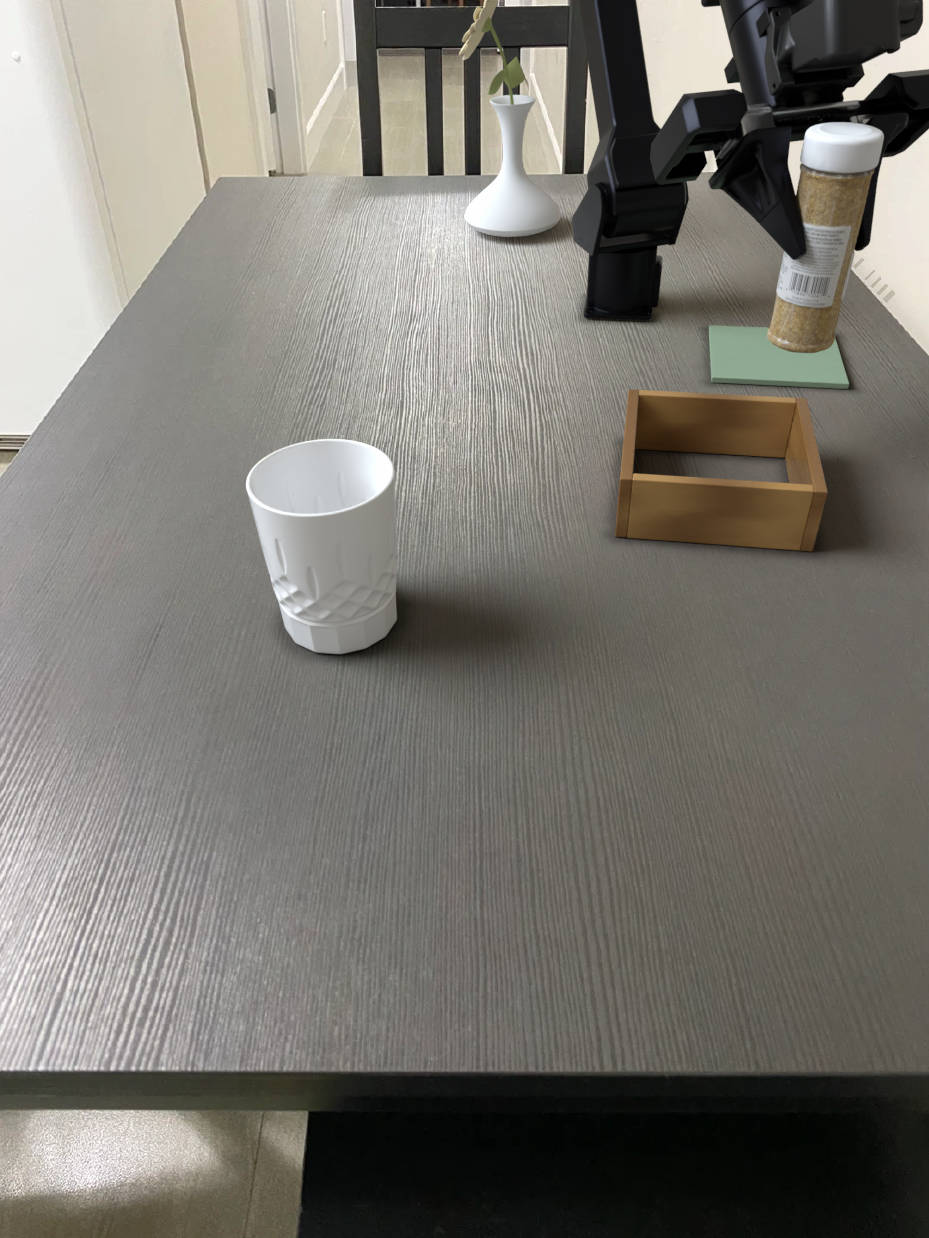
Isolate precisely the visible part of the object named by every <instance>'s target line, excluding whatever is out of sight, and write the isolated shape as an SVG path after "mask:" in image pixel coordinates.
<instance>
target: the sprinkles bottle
mask: <svg viewBox="0 0 929 1238" xmlns="http://www.w3.org/2000/svg"><path fill="white" fill-rule="evenodd" d="M883 140H884V134H883V132H882V131H881V130H879V129H877V128H875V127H872V126H869V125H864V124H859V123H849V122H829V123H822V124H817V125H814V126H812V127H810V128H809V129H808V130H807V131H806V133H805V137H804V140H803V142H802V147H801V152H800V156H799V161H800V164H799V170H800V173H799V178H798V183H797V188H796V192H795V196H796V200H797V203H798V207H799V211H800V215H801V219H802V223H803V228H804V234H805V242H806V253H805V255H804V256H802V257H801V258H800V259H798V260H793V259H791V257H790V256H789V255H788V254H787V253H786V252H785V251H784V250H783V255H782V259H781V265H780V270H779V275H778V280H777V285H776V294H775V295H776V296H775V301H774V306H773V311H772V316H771V320H770V326H769V327H768V328H769V329H768V332H767V338H768V339H769V341H770V342H771V343H772V344H773V345H775V346H777V347H778V348H781V349H783V350H786V351H790V352H797V353H816V352H820V351H824V350H827V349H828V348H830V347H831V346H832V345H833V343H834V340H835V339H836V334H835V333H836V328H837V324H838V322H839V321H838V320H839V316H840V312H841V308H842V303H843V299H844V298H845V296H846V292H847V288H848V284H849V279H850V275H851V272H852V266H853V264H854V263H853V262H854V258H855V254H856V253H855V250H854V249H855V244H856V242H857V237H858V233H859V229H860V225H861V220H862V216H863V212H864V208H865V203H866V198H867V195H868V190H869V184H870V180H871V176H872V174H873V173H874V168H875V167H876V166H877V165H878V163H879V159H880V154H881V150H882V145H883Z"/></svg>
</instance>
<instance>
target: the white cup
mask: <svg viewBox="0 0 929 1238" xmlns="http://www.w3.org/2000/svg"><path fill="white" fill-rule="evenodd" d="M395 474H396V473H395V465H394V463H393V461H392V459H391V458H390V457H389V456H388V455H387V454H386V453H385V452H384V451H383V450H381V449H380V448H377V447H376V446H373V445H371V444H368V443H365V442H361V441H358V440H352V439H344V438H320V439H312V440H306V441H301V442H297V443H292V444H290V445H287V446H284V447H282V448H278V449H276V450H274V451H273V452H271V453H269V454H267V455H265V456H264V457H263V458H262V459H260V460H259V461H258V462H257V463H255V465H253V467H252V468H251V469H250V471H249V472H248V475H247V476H246V480H245V481H246V482H245V489H246V493H247V497H248V500H249V504H250V507H251V512H252V515H253V519H254V524H255V526H256V531H257V534H258V539H259V543H260V546H261V550H262V554H263V558H264V562H265V565H266V568H267V571H268V573H269V577H270V581H271V585H272V588H273V592H274V595H275V598H276V599H277V601H278V605H279V609H280V613H281V617H282V621H283V625H284V629H285V630H286V631H287V633H288V634H289V636H290V637H291V639H292V640H293V641H294V643H295V644H296V645H298V646H301V647H303V648H305V649H307V650H310V651H312V652H314V653H317V654H331V655H344V654H348V653H353V652H357V651H361V650H365V649H368V648H369V647H371V646H372V645H374V644H376V643H378V642H379V641H380V640H383V639H384V638H386V637H387V636H388V634H389V632H390V631H391V629H392V628H393V626H394V625H395V624H396V622H397V620H398V613H397V593H396V592H397V581H398V578H399V575H398V558H399V557H398V556H399V555H398V535H397V505H396V504H397V503H396V501H397V500H396V476H395Z"/></svg>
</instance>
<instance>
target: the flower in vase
mask: <svg viewBox="0 0 929 1238" xmlns="http://www.w3.org/2000/svg"><path fill="white" fill-rule="evenodd" d="M498 2H499V0H484V2H483V6H482V7H481V6H478V5H477V6H476V8H475V10H474V12H473V15H472V16H473V21H474V22H473V23H471V25H470V27H469V29H468V30H467V31H466V32H465V33H464V34H463V37H462V39H461V42H462V43H464V44H463V45H462V47H461V49H460V51H459V53H458V56H459V57H460V56H462V55H463V57H462V61H466V60H467V59H469V58H470V57H471V56H472V54H473V53H474V52H475V50H476V48H477V47H478V45H479V44H480V42H482V41H481V40H482V39H483V37H484V36H485V34H486V33H488V32H489V31H490V32H491V35H492V37H493V39H494V41H495V44H496V46H497V49H498V51H499V54H500V57H501V59H502V64H503V69H501V70H500V71H498V73H497V74H496V75H495V76H494V77H493V79H492V80H491V83H490V85H489V88H488V91H487V95H489V96H493V95H495V94H497V93H498V91H499V90H500V88H501V86H502V84H503V82H504V83H505V85H506V86H507V88H508V93H509V94H506V95H505V94H504V95H498V96H494V97H492V98H490V99H489V103H490V105H491V107H492V108H493V109H494V111H495V113H496V115H497V117H498V118H497V119H498V121H499V126H500V131H501V132H500V133H501V140H502V141H501V142H502V163H501V167H500V171H499V173H498V175H497V176H496V177H495V179H494V180H493V181H492V182H491V183H489V185H488V186H486V187H485V188H484V189H483V190H482V191H481V192H480V193H479V194H478V195H476V196H475V197H474V199H472V201H471V202H470V203H469V204H468V206H467V207H466V209H465V212H464V215H463V218H464V219H463V220H464V221H465V222H466V224H467V225H468V226H469V227H470V228H471V229H472V230H474V231H477V232H479V233H482V234H484V235H489V236H493V237H501V238H503V237H504V238H516V237H517V238H518V237H527V236H533V235H537V234H540V233H543V232H545V231H548V230H550V229H552V228H553V227H555V226H556V225H557V224H558V222H559V221H560V219H561V217H562V212H561V208H560V206H559V205H558V203H557V202H556V201H555V200H554V199H553V197H552V196H551V195H550V194H548V193H547V192H546V190H544V189H543V188H542V187H540V186H539V185H538V184H537V183H536V182H535V181H533V180H532V178H530V176H529V175H528V174H527V172H526V169H525V166H524V160H523V159H524V158H523V147H524V145H523V144H524V133H525V128H526V123H527V119H528V115H529V113H530V111H531V109H532V107H533V105H534V104H535V103H536V100H537V99H536V98H535V97H534V96H531V95H525V94H513V89H514V88H517V87H518V86H519V85H521V84H522V83H523V82H524V81H525V80H526V76H525V72H524V71H523V68H522V65H521V63H520V60H519V57H518V56H515V57H514V58H513V59H512V60H511V61H510V62H509V63H508V64H507V59H506V56H505V52H504V50H503V47H502V44H501V42H500V40H499V37H498V34H497V32H496V30H495V28H494V27H493V22H492V19H493V18H492V17H493V15H494V12H495V10H496V8H497V4H498Z"/></svg>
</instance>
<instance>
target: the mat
mask: <svg viewBox="0 0 929 1238" xmlns="http://www.w3.org/2000/svg"><path fill="white" fill-rule="evenodd" d="M768 329H769V327H764V326H761V327H760V326H741V325H740V326H739V325H716V324H715V325H714V324H711V325H710V324H709V326H708V340H709V341H708V343H709V344H708V346H709V360H710V361H709V362H710V381H711V383H715V384H733V385H735V384H736V385H756V386H774V387H795V388H797V387H798V388H815V389H816V388H817V389H837V390H838V389H839V390H849V386H850V381H849V379H848V376H847V375H848V374H847V372H846V369H845V366H844V362H843V358H842V356H841V353H840V348H839V345H838V342H837V339H836V338H835V340H834V343H833V345H832V346H831V347H830V348H828V349H827V350H824V351H820V352H816V353H797V352H790V351H786V350H783V349H781V348H778V347H777V346H775V345H773V344H772V343H771V342H770V341H769V339H768V338H767V332H768Z"/></svg>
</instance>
